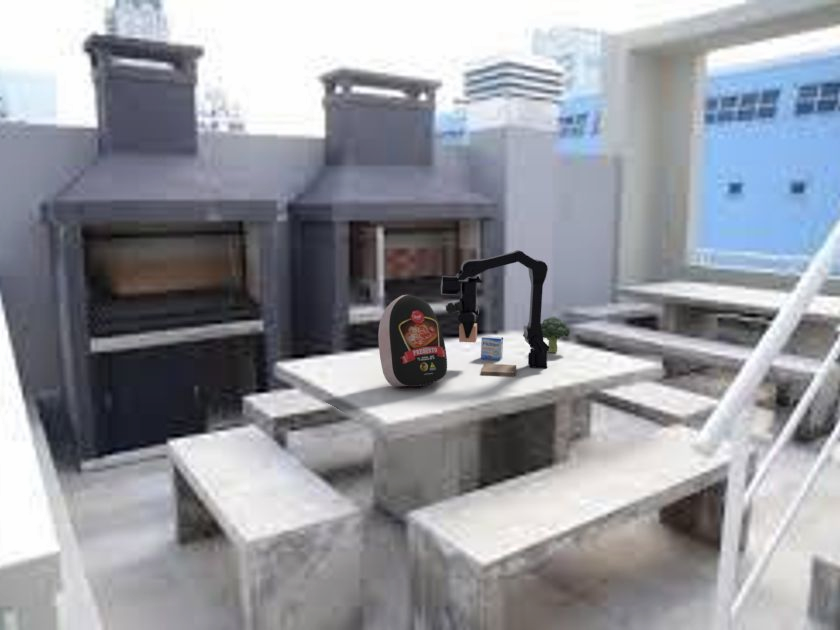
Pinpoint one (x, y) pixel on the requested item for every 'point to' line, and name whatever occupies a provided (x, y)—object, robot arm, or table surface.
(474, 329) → the terracotta cube
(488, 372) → the walnut board
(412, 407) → the table surface
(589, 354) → the table surface
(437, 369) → the packaged food
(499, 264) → the robot arm
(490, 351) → the medicine box
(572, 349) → the table surface
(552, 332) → the vegetable
